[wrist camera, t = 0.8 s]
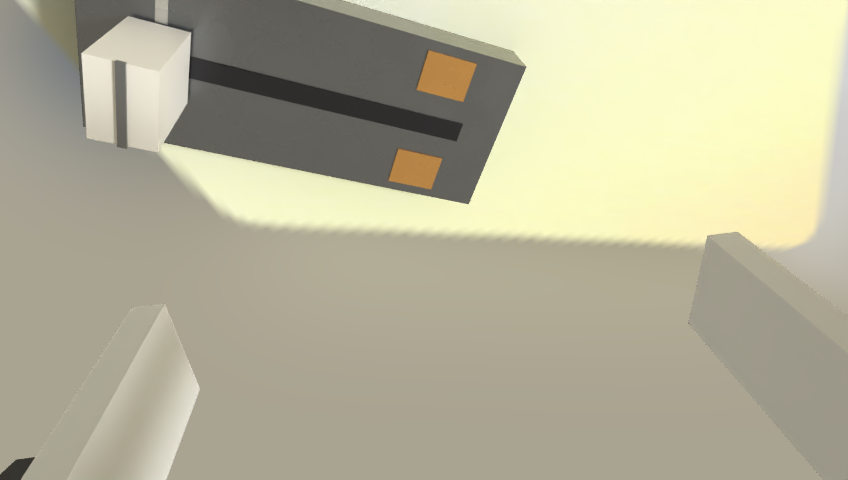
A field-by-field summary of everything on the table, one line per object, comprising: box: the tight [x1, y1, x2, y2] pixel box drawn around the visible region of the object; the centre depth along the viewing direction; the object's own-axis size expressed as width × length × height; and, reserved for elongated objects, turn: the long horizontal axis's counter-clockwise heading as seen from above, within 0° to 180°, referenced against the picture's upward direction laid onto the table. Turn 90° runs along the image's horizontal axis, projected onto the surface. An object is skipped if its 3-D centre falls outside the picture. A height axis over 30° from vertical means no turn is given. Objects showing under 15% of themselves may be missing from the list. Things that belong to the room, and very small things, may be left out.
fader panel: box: [75, 0, 526, 204], centre depth 32 cm, size 10×24×3 cm, turn 73°
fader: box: [81, 16, 191, 152], centre depth 25 cm, size 4×3×6 cm
